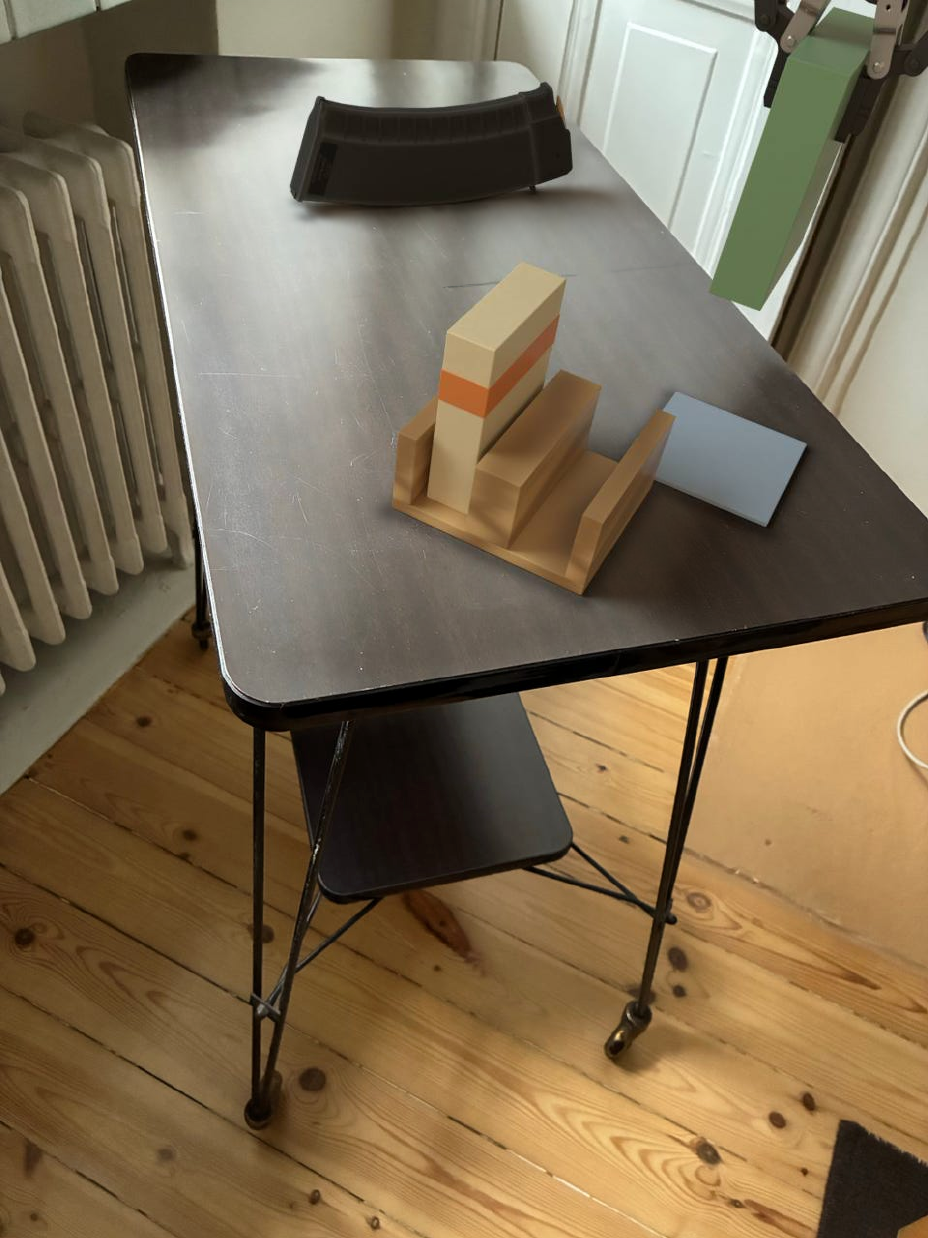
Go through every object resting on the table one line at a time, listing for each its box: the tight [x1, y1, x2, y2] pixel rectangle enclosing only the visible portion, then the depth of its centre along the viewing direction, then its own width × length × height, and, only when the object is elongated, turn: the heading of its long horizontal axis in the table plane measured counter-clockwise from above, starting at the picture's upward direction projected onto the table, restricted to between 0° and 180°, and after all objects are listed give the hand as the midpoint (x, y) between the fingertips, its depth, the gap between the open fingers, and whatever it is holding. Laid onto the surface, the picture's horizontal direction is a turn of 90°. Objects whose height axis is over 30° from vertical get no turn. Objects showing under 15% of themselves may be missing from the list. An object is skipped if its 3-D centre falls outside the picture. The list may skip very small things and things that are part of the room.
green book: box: [708, 6, 874, 312], centre depth 61 cm, size 4×11×14 cm, turn 153°
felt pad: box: [654, 391, 808, 528], centre depth 81 cm, size 12×12×1 cm
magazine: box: [289, 81, 574, 207], centre depth 101 cm, size 17×3×30 cm
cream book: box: [427, 261, 568, 515], centre depth 70 cm, size 4×11×14 cm, turn 152°
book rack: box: [391, 368, 676, 596], centre depth 73 cm, size 16×14×7 cm
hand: (810, 126), depth 59 cm, fingers closed on green book, 3 cm apart
